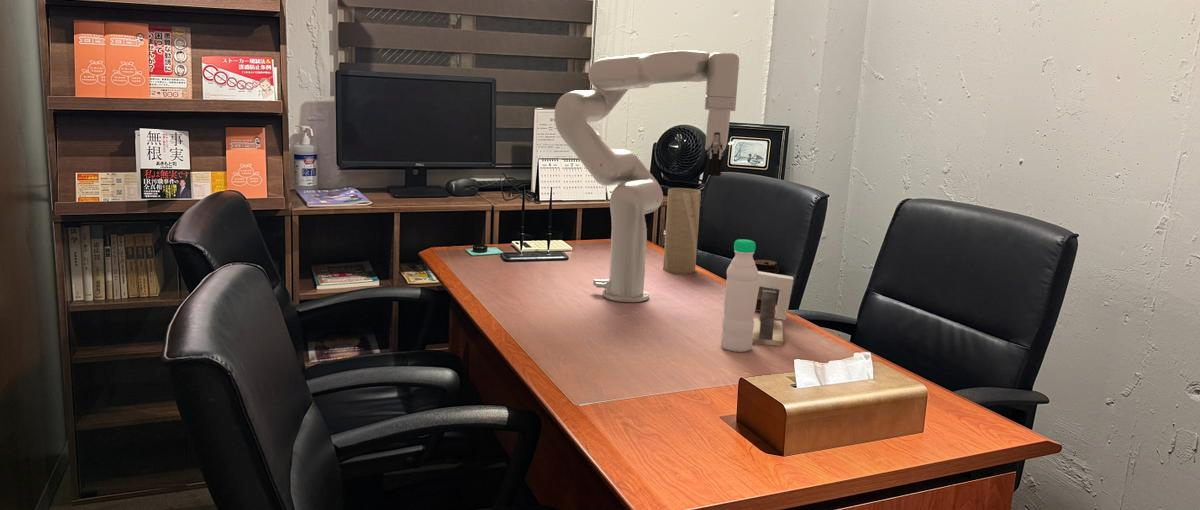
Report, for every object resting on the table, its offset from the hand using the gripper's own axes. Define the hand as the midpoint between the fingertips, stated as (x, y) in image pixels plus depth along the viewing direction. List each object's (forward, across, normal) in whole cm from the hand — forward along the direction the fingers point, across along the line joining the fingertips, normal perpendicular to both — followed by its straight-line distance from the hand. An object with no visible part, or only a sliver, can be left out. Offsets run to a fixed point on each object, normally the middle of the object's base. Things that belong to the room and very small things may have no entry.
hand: (715, 173), depth 219 cm
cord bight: (+32, +14, +15) cm, 38 cm away
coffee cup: (+36, -8, +14) cm, 40 cm away
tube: (+36, -46, -11) cm, 60 cm away
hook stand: (+36, +14, +16) cm, 42 cm away
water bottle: (+36, +27, +9) cm, 46 cm away
